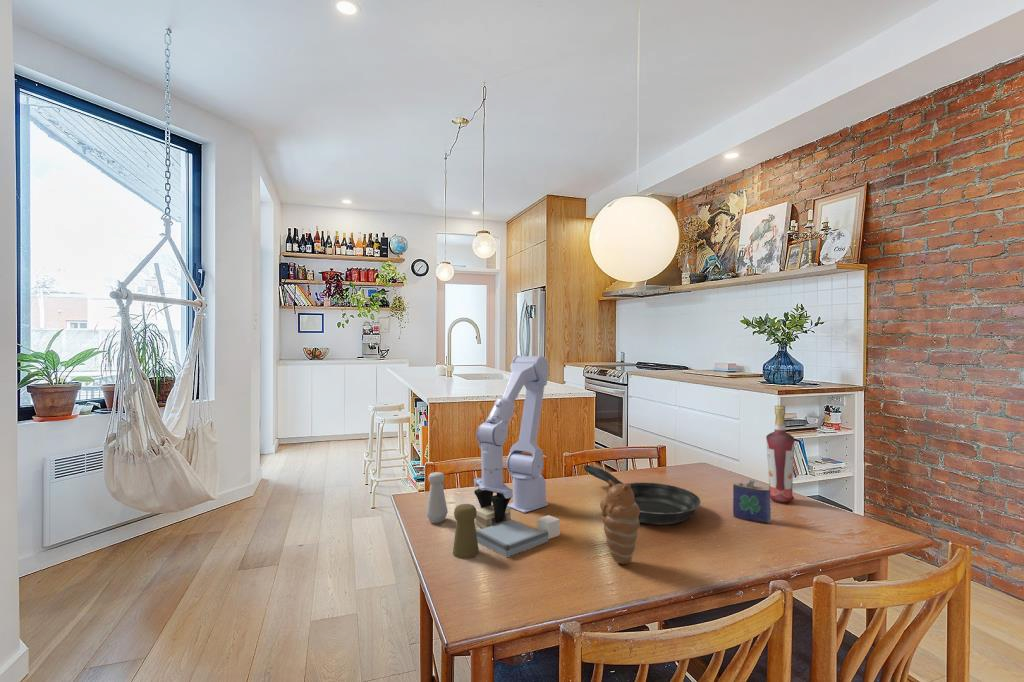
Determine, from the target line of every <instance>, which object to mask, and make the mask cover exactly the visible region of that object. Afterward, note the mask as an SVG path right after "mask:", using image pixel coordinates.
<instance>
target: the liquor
mask: <svg viewBox="0 0 1024 682" xmlns="http://www.w3.org/2000/svg"><path fill="white" fill-rule="evenodd" d="M774 414H775V422H774V423H775V424H774V431H773V432H770V433H769V434H767V435H766V436H765V439H766V455H767V467H768V468H767V470H768V487H769V489H770V491H771V493H770V500H772V501H773V502H775V503H778V504H788V503H791V502H792V501H793V500H794V499H795V496H794V495H793V481H794V479H793V477H794V476H793V475H794V462H795V461H794V457H795V437H794V436H793V435H792V434H790V433H788V432H787V431H786V429H787V428H786V420H785V416H786V415H785V414H786V405H774Z"/></svg>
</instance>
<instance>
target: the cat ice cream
mask: <svg viewBox="0 0 1024 682" xmlns="http://www.w3.org/2000/svg"><path fill="white" fill-rule="evenodd" d="M625 484H627V483H623V484H615V483H614V482H613V481H611V480H609V484H608V490H609V491H608V490H607V491H608V493H607V492H606V495H605V496H604V497H602V499H601V500H600V505H599V507H600V510H601V514H600V515H601V516H600V518H601V521H602V522H603V532H604V535H605V536H606V537H605V539H606V544H607V546H608V548H609V551H610V552H609V553H610V555H611V557H612V559H613V560H614V561H615V562H616V563H617V564H619V565H627V564H629V563H630V562H632V559H633V556H634V555H633V554H634V551H635V547H636V541H637V538H638V531H639V529H640V525H641V522H639V519H638V516H639V514H640V509H639V507H638V505H637V503H636V502H635V500H634V494H633V491H632V490H631V484H627V485H625Z"/></svg>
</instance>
